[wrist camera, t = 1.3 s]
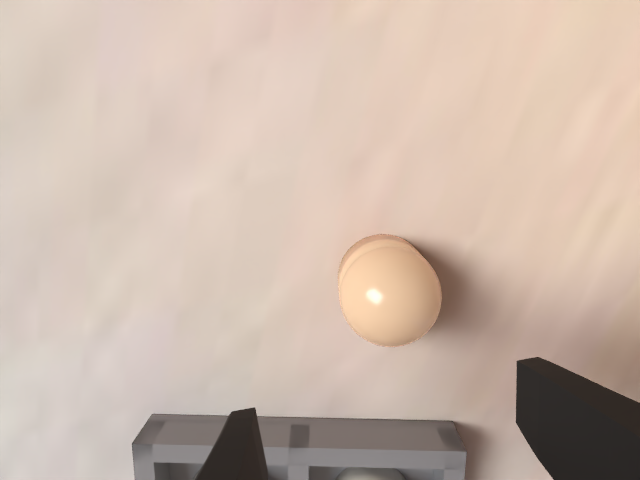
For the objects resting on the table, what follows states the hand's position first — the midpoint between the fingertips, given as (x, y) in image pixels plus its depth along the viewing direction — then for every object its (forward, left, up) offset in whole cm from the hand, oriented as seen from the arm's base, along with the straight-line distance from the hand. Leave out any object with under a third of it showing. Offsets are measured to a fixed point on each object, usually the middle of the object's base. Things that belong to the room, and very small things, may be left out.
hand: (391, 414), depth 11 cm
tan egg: (-1, -1, -10) cm, 10 cm away
